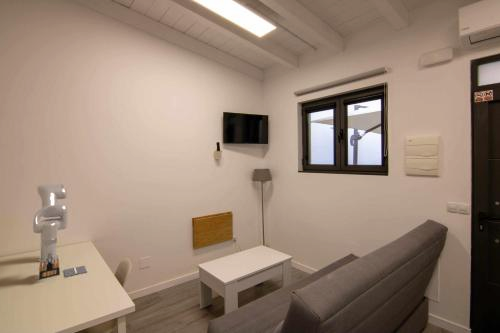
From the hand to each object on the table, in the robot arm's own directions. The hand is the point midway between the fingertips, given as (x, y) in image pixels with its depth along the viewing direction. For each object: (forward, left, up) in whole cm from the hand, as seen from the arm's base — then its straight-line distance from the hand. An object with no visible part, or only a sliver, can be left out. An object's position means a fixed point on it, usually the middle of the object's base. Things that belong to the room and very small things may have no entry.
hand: (49, 267), depth 166 cm
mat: (+1, +14, -6) cm, 15 cm away
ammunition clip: (0, 0, -6) cm, 6 cm away
